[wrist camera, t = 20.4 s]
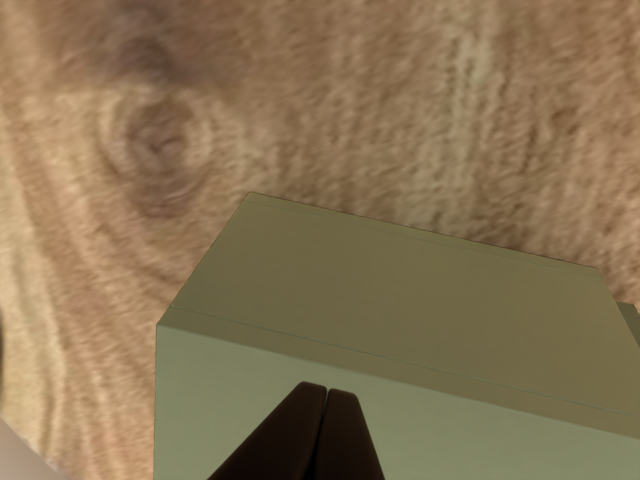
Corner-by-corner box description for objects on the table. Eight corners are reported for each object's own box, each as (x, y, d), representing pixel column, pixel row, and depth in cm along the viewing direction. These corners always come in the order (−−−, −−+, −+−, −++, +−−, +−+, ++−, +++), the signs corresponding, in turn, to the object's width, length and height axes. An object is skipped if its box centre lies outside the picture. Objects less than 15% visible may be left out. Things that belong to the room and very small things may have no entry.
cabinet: (598, 268, 19) (696, 454, 12) (501, 468, 25) (532, 679, 18) (249, 191, 20) (155, 324, 13) (226, 400, 26) (150, 575, 18)
